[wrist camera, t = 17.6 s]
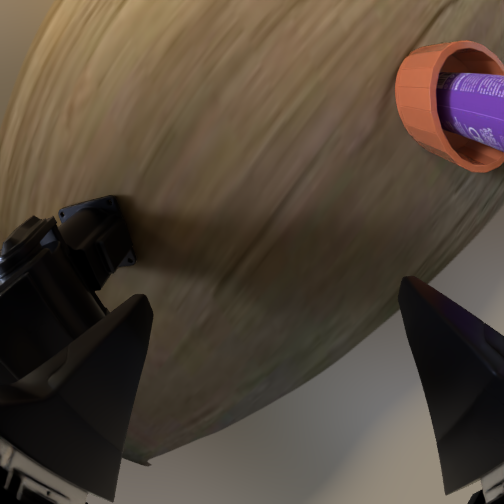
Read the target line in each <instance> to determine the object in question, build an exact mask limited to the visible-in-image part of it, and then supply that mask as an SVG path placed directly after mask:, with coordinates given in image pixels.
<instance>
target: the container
mask: <svg viewBox="0 0 504 504" xmlns="http://www.w3.org/2000/svg"><path fill="white" fill-rule="evenodd" d="M436 99H437V112H438V116H439V119H440V123H441V127H442V129H444V130H446V131H449V132H452V133H455V134H458V135H461V136H464V137H467V138H469V139H472V140H475V141H477V142H480V143H483V144H485V145H488V146H490V147H492V148H495V149H497V150H500V151H502V152H504V76H501V75H491V74H478V73H451V72H442V73H439V77H438V82H437V87H436Z"/></svg>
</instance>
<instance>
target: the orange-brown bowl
mask: <svg viewBox="0 0 504 504" xmlns="http://www.w3.org/2000/svg"><path fill="white" fill-rule="evenodd" d="M442 72H451V73H478V74H491V75H501V76H504V65H503V63H502V62H501V61H500V59H499V58H498V57H497V56H496V55H495V54H494V53H493V52H491V51H490V50H489V49H487V48H486V47H485V46H483V45H481V44H478V43H475V42H472V41H469V40H465V41H456V42H449V43H441V44H435V45H429V46H424V47H420V48H418V49H416V50H414V51H412V52H411V53H410V54H409V55H408V56H407V57H406V58H405V59H404V61H403V62H402V64H401V66H400V68H399V70H398V73H397V77H396V84H395V98H396V104H397V109H398V112H399V115H400V118H401V120H402V122H403V124H404V126H405V128H406V130H407V131H408V133H409V134H410V135H411V137H412V138H413V139H414V140H415V141H416V142H417V143H418V144H419V145H421V146H422V147H423V148H425V149H426V150H428V151H430V152H432V153H434V154H436V155H438V156H440V157H443V158H445V159H447V160H449V161H451V162H453V163H455V164H457V165H459V166H461V167H463V168H465V169H467V170H469V171H471V172H489V171H491V170H493V169H495V168H498V167H499V166H500V165H501V164H502V163H503V162H504V152H502V151H500V150H497V149H495V148H492V147H490V146H488V145H485V144H483V143H480V142H477V141H475V140H472V139H469V138H467V137H464V136H461V135H458V134H455V133H452V132H449V131H446V130H444V129H442V127H441V123H440V119H439V116H438V112H437V99H436V87H437V82H438V77H439V73H442Z"/></svg>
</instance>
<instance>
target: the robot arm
mask: <svg viewBox="0 0 504 504" xmlns="http://www.w3.org/2000/svg"><path fill="white" fill-rule="evenodd" d="M109 200H111V201H112V204H111V203H110V202H109ZM63 213H64V214H65V215H64V214H63ZM58 214H59V217H60V220H61V223H62V224H61V225H60V226H59V227H57V225H56V223H57V222H56V220H55V218H54V216H53V217H51V218H49V219H47V220H46V218H45V219H43V220H42V219H39V218H37V217H35V216H32V217H30V218H29V219H28V220H26V221H25V222H24V223H22V224H21V225H20V226H19V227H17V228H16V229H15V230H14V231H13V232H12V233H11V234H10V235H9V237H8V238H7V239H6V240H5V241H4V242H3V247H2V249H1V251H0V504H88V503H87V502H86V498H87V494H88V493H89V494H91V495H94V496H96V497H99V498H102V499H104V500H107V501H110V502H114V497H115V491H116V485H117V480H118V474H119V469H120V464H121V458H122V454H123V453H122V452H123V448H124V443H125V438H126V434H127V429H128V425H129V421H130V416H131V412H132V408H133V404H134V400H135V396H136V392H137V388H138V384H139V380H140V376H141V373H142V369H143V365H144V362H145V358H146V354H147V350H148V345H149V339H150V333H151V327H152V322H153V310H152V308H151V306H150V303H149V301H148V298H147V296H146V295H144V294H135V295H133V296H132V297H130V298H129V299H128V300H126V301H125V302H124V303H122V304H121V305H120V306H118V307H117V308H116V309H114V310H113V311H112V312H109V311H108V309H107V308H105V307H104V305H103V304H102V302H101V301H100V299H99V298H98V296H97V295H96V293H95V291H97V290H101V288H102V287H103V285H104V284H105V282H106V281H107V279H108V278H109V276H110V275H111V273H114V272H115V271H116V269H117V268H118V267H123V266H132V265H134V264H135V263H136V261H137V257H136V255H135V252H134V249H133V247H132V246H133V244H132V241H131V238H130V235H129V232H128V229H127V226H126V224H125V221H124V219H123V218H122V215H121V212H120V209H119V206H118V203H117V200H116V198H115V197H114V196H112V195H109V196H105V197H101V198H97V199H93V200H90V201H86V202H82V203H78V204H75V205H71V206H68V207H64V208H62V209H61V210H59V213H58ZM129 258H131V259H132V260H133V261H131V260H130V259H129ZM398 302H399V306H400V310H401V314H402V318H403V322H404V326H405V330H406V334H407V338H408V342H409V345H410V347H411V351H412V354H413V357H414V360H415V363H416V366H417V369H418V372H419V376H420V379H421V383H422V386H423V390H424V393H425V397H426V400H427V404H428V408H429V412H430V416H431V420H432V424H433V429H434V433H435V438H436V442H437V448H438V453H439V458H440V464H441V469H442V476H443V483H444V490H445V495H448V494H451V493H453V492H455V491H458V490H460V489H462V488H465V487H467V486H469V485H471V484H473V483H475V482H477V481H479V480H481V484H482V490H480V491H478V492H476V493H474V494H473V495H472V497H471V498H470V500H469V502H468V504H504V336H503V335H501V334H500V333H498V332H497V331H495V330H494V329H493V328H491V327H490V326H489V325H487V324H486V323H484V322H483V321H482V320H480V319H479V318H477V317H476V316H474V315H473V314H471V313H470V312H468V311H467V310H466V309H464V308H463V307H461V306H460V305H458V304H457V303H455V302H454V301H452V300H451V299H449V298H448V297H446V296H445V295H443V294H442V293H440V292H439V291H437V290H435V289H434V288H432V287H431V286H429V285H428V284H426V283H425V282H423V281H422V280H420V279H418V278H417V277H415V276H405V277H403V278H402V281H401V285H400V290H399V295H398Z"/></svg>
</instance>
